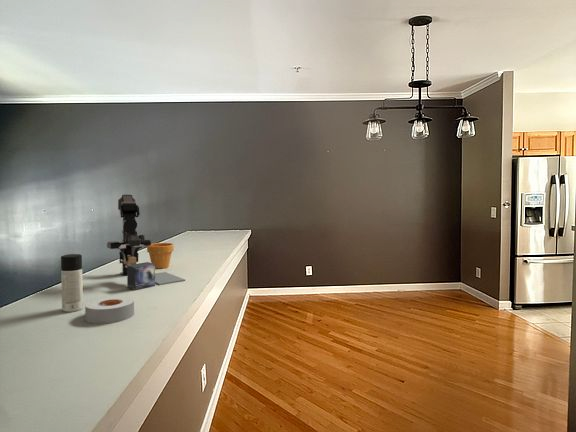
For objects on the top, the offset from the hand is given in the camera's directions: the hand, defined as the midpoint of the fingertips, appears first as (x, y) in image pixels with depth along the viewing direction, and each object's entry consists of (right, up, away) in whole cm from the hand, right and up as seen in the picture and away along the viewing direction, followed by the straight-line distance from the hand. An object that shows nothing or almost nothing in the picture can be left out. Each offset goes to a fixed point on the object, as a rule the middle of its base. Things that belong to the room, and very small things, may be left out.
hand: (129, 261), depth 176 cm
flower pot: (+3, -8, +34) cm, 35 cm away
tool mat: (+13, -9, +7) cm, 18 cm away
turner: (+2, -2, -2) cm, 3 cm away
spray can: (-3, -13, -41) cm, 43 cm away
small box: (+9, -11, -9) cm, 17 cm away
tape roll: (+14, -14, -48) cm, 51 cm away
